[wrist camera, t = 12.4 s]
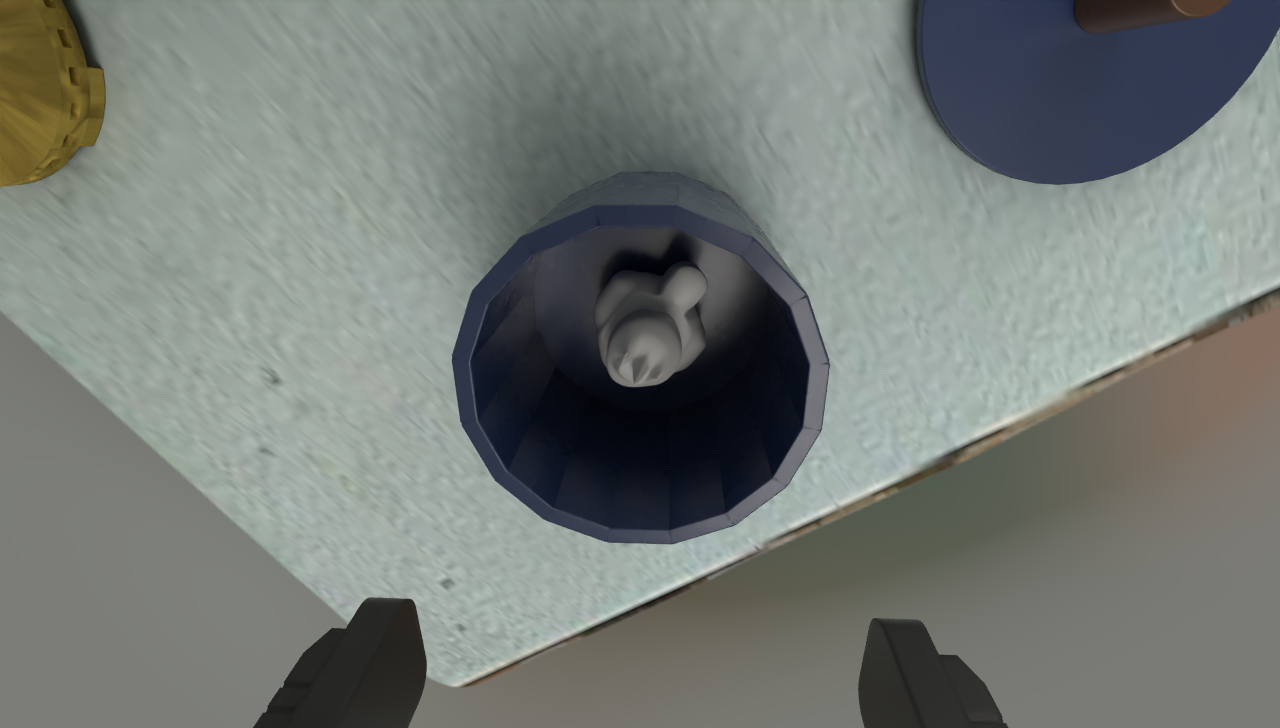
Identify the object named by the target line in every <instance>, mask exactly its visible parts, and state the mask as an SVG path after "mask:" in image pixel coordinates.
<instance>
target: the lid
mask: <svg viewBox="0 0 1280 728" xmlns="http://www.w3.org/2000/svg"><path fill="white" fill-rule="evenodd" d="M1279 28H1280V0H920V2H919V8H918V19H917V30H916V33H917V58H918V64H919V70H920V77H921V81H922V84H923V87H924V91H925V94H926V97H927V100H928V102H929V104H930V107H931V109H932V111H933V113H934V115H935V117H936V119H937V121H938V122H939V124H940V125H941V127H942V128H943V130H944V131H945V133H946V134H947V135H948V136H949V138H950V139H951V140H952V141H953V142H954V143H955V144H956V145H957V146H958V147H959V148H960V150H962V151H963V152H964V153H966V154H967V155H968V156H969V157H971V158H972V159H973V160H974V161H976V162H977V163H979V164H981V165H983V166H985V167H986V168H988V169H990V170H992V171H994V172H997V173H999V174H1002V175H1005V176H1007V177H1010V178H1014V179H1019V180H1023V181H1028V182H1033V183H1040V184H1055V185H1060V184H1076V183H1084V182H1089V181H1094V180H1099V179H1104V178H1107V177H1110V176H1113V175H1116V174H1120V173H1123V172H1126V171H1128V170H1130V169H1133V168H1135V167H1137V166H1140V165H1142V164H1144V163H1146V162H1149V161H1150V160H1152V159H1154V158H1156V157H1158V156H1159V155H1161V154H1163V153H1165V152H1166V151H1168V150H1170V149H1172V148H1173V147H1174V146H1176V145H1177V144H1179V143H1180V142H1182V141H1183V140H1185V139H1186V138H1187V137H1189V136H1190V135H1192V134H1193V133H1194V132H1195V131H1197V130H1198V129H1199V128H1200V127H1201V126H1203V125H1204V124H1205V123H1206V122H1207V121H1208V120H1210V119H1211V118H1212V117H1213V116H1214V115H1215V114H1216V113H1217V112H1218V111H1219V110H1220V109H1221V108H1222V107H1223V106H1224V105H1225V104H1226V103H1227V102H1228V101H1229V100H1230V99H1231V98H1232V97H1233V96H1234V95H1235V93H1236V92H1237V91H1238V90H1239V88H1240V87H1241V86H1242V85H1243V84H1244V82H1245V81H1246V80H1247V79H1248V77H1249V76H1250V75H1251V74H1252V72H1253V71H1254V69H1255V68H1256V66H1257V65H1258V63H1259V62H1260V60H1261V59H1262V57H1263V56H1264V54H1265V53H1266V51H1267V50H1268V48H1269V46H1270V44H1271V43H1272V41H1273V39H1274V37H1275V35H1276V33H1277V31H1278V30H1279Z"/></svg>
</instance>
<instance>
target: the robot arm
mask: <svg viewBox="0 0 1280 728" xmlns="http://www.w3.org/2000/svg"><path fill="white" fill-rule="evenodd" d="M426 671H427V661H426V655H425V650H424V645H423V640H422V635H421V630H420V625H419V620H418V615H417V610H416V606H415V603H414V601H413V600H412V599H398V598H371V597H370V598H367V599H366V600H365V601H364V602H363V603H362V604H361V605H360V607H359V608H358V610H357V612H356V613H355V615H354V616H353V618H352V620H351V621H350V623H349V624H348V626H347V628H346V629H340V628H332V629H331V630H329V631H328V632H327V633H326V634H325V635H324V636H322V637H321V638H320V639H319V640H318V641H317V642H315V643H314V644H313V645H312V646H311V647H310V648H309V649H307V650H306V651H305V652H304V653H303V655H302V656H301V657H300V659H299V660H298V662H297V663H296V665H295V666H294V668H293V669H292V671H291V672H290V674H289V675H288V677H287V678H286V680H285V681H284V686H283V688H280V689H279V690H278V692H277V693H276V694H275V696H274V697H273V699H272V700H271V702H270V703H269V705H268V709H267V712H266V713H263V714H262V715H261V717H260V718H259V720H258V721H257V723H256V724H255V726H254V727H253V728H408V726H409V724H410V721H411V719H412V717H413V715H414V712H415V710H416V708H417V705H418V703H419V701H420V698H421V695H422V692H423V689H424V684H425V679H426ZM858 690H859V704H860V710H861V716H862V720H863V723H864V727H865V728H1008V726H1007V724H1006V723H1003V720H1002V715H1001V713H1000V711H999V709H998V707H997V706H996V704H995V702H994V700H993V698H992V696H991V694H990V692H989V691H988V689H987V687H986V685H985V683H984V682H983V681H982V680H981V679H980V678H979V677H978V676H977V675H976V674H975V673H974V672H973V671H972V670H971V669H970V668H969V667H968V666H967V665H966V664H965V663H964V662H963V661H962V660H961V659H960V658H959V657H958V656H957V655H939V654H938V652H937V650H936V648H935V646H934V644H933V642H932V640H931V637H930V635H929V633H928V631H927V629H926V627H925V626H924V624H923V623H922V622H921V621H919V620H910V619H883V618H882V619H881V618H874V619H872V621H871V623H870V626H869V631H868V636H867V641H866V646H865V651H864V657H863V662H862V667H861V672H860V677H859V688H858Z"/></svg>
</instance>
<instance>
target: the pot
mask: <svg viewBox="0 0 1280 728" xmlns="http://www.w3.org/2000/svg"><path fill="white" fill-rule="evenodd" d="M682 261H690V262H693V263H695V264H696V265H697V266H698V267H699V269H700V270H701V271H702V272H703V273H704V275H705V276H706V279H707V282H708V289H707V292H706V293H705V294H704V296H703V297H702V298H701V299H700V300H699V301H698V302H697V303H696V304H695V307H696V309H697V310H698V312H699V315H700V319H701V322H702V324H703V327H704V329H705V334H706V346H705V348H704V350H703V351H702V352H701V353H700V354H699V355H698V357H697V358H696V359H695V360H694V361H693V362H692V363H691V364H690V365H689V366H688V367H687V368H685V369H683V370H681V371H678V372H675V373H673V374H672V375H671V376H670V377H669V378H668V379H667V380H665V381H664V382H662V383H660V384H657V385H651V386H643V387H627V386H623V385H621V384H619V383H617V382H615V381H614V380H613V379H612V378H611V376H610V375H609V372H608V370H607V367H606V366H605V365H604V363H603V361H602V359H601V355H600V350H599V346H598V340H597V327H596V324H595V320H594V309H595V303H596V300H597V297H598V295H599V294H600V292H601V291H602V290H603V289H604V287H605V286H606V285H607V283H608V282H609V281H610V280H611V278H612V277H613V276H614V275H615V274H616V273H618V272H620V271H623V270H631V271H635V272H640V273H642V272H648V273H652V274H656V275H660V276H663V275H664V274H665V272H666V271H667V270H668V268H670V267H671V266H672V265H673V264H675V263H678V262H682ZM452 365H453V372H454V379H455V386H456V393H457V400H458V407H459V415H460V421H461V423H462V427H463V428H464V430H465V432H466V433H467V435H468V437H469V438H470V440H471V442H472V443H473V445H474V447H475V448H476V450H477V452H478V453H479V455H480V457H481V458H482V460H483V462H484V463H485V465H486V467H487V468H488V470H489V472H490V473H491V475H492V477H493V478H494V479H495V481H496V482H498V483H499V484H500V485H501V486H503V487H504V488H505V489H506V490H508V491H509V492H510V493H511V494H513V495H514V496H515V497H516V498H518V499H519V500H520V501H521V502H523V503H524V504H525V505H526V506H528V507H529V508H530V509H531V510H533V511H534V512H535V513H536V514H538V515H539V516H540V517H541V518H543V519H544V520H545V519H546V521H549V522H552V523H554V524H557V525H560V526H563V527H565V528H568V529H571V530H574V531H577V532H579V533H582V534H585V535H588V536H591V537H593V538H596V539H599V540H602V541H605V542H606V541H607V542H610V543H646V544H675V543H678V542H682V541H685V540H688V539H692V538H695V537H698V536H702V535H705V534H708V533H711V532H715V531H718V530H721V529H725V528H728V527H731V526H734V525H736V524H737V523H739V522H740V521H742V520H743V519H744V518H746V517H747V516H748V515H750V514H751V513H752V512H754V511H755V510H756V509H758V508H759V507H760V506H762V505H763V504H764V503H766V502H767V501H768V500H770V499H771V498H772V497H774V496H775V495H777V494H778V493H779V492H781V491H782V490H783V489H785V488H786V487H787V486H788V485H789V483H790V481H791V480H792V478H793V476H794V475H795V473H796V471H797V470H798V468H799V467H800V465H801V463H802V462H803V460H804V458H805V457H806V455H807V453H808V452H809V450H810V448H811V447H812V445H813V444H814V442H815V440H816V439H817V437H818V435H819V434H820V432H821V430H822V424H823V416H824V408H825V400H826V392H827V384H828V376H829V368H830V363H829V358H828V355H827V352H826V349H825V346H824V343H823V340H822V337H821V334H820V331H819V328H818V324H817V321H816V318H815V315H814V312H813V309H812V306H811V303H810V300H809V297H808V295H807V293H806V292H805V290H804V289H803V287H802V286H801V285H800V283H799V282H798V280H797V279H796V278H795V276H794V275H793V273H792V272H791V271H790V269H789V268H788V266H787V265H786V263H785V262H784V261H783V259H782V258H781V256H780V255H779V254H778V252H777V251H776V249H775V248H774V247H773V245H772V244H771V242H770V241H769V240H768V238H767V237H766V235H765V234H764V233H763V232H762V231H761V230H760V228H759V227H758V226H757V225H756V224H755V223H754V222H753V221H752V220H751V219H750V218H749V217H748V215H747V214H746V213H745V212H744V211H743V210H742V209H741V208H740V207H739V206H738V205H737V204H736V203H735V202H734V200H733V199H732V198H731V197H730V196H729V195H727V194H725V193H723V192H721V191H719V190H716V189H714V188H712V187H710V186H708V185H706V184H704V183H702V182H700V181H697V180H694V179H691V178H688V177H686V176H684V175H681V174H679V173H676V172H650V171H648V172H634V173H618V174H616V175H614V176H611V177H609V178H607V179H605V180H602V181H599V182H596V183H594V184H592V185H591V186H589V187H586V188H584V189H582V190H580V191H577V192H575V193H573V194H571V195H569V196H568V197H567V198H566V199H565V200H563V201H562V202H561V203H560V204H559V205H558V206H556V207H555V208H554V209H553V210H552V211H551V212H549V213H548V214H547V215H546V216H545V217H544V218H542V219H541V220H540V221H539V222H538V223H537V224H535V225H534V226H533V227H532V228H531V229H530V230H528V231H527V232H526V233H525V234H524V235H523V236H521V237H520V238H519V239H518V240H517V241H516V243H515V244H514V245H513V246H512V247H511V248H510V249H509V250H508V251H507V253H506V254H505V255H504V256H503V257H502V258H501V259H500V260H499V261H498V262H497V264H496V265H495V266H494V267H493V268H492V269H491V270H490V271H489V272H488V274H487V275H486V276H485V277H484V278H483V279H482V280H481V281H480V282H479V284H478V285H477V286H476V287H475V288H474V289H473V290H472V293H471V294H470V298H469V301H468V304H467V308H466V311H465V314H464V318H463V321H462V324H461V328H460V331H459V334H458V338H457V341H456V344H455V347H454V351H453V354H452Z"/></svg>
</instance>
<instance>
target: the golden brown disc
mask: <svg viewBox="0 0 1280 728" xmlns="http://www.w3.org/2000/svg"><path fill="white" fill-rule="evenodd" d="M104 107H105V84H104V77H103V69H99V68H93V67H87V64H86V60H85V55H84V51H83V48H82V45H81V42H80V39H79V37H78V34H77V31H76V29H75V26H74V24H73V22H72V20H71V18H70V15H69V13H68V11H67V9H66V7H65V6H64V4H63V2H62V0H0V187H4V186H12V185H21V184H28V183H31V182H35V181H39V180H42V179H44V178H46V177H48V176H50V175H52V174H54V173H55V172H56V171H58V170H59V169H61V168H62V167H63V166H64V165H65V164H66V163H67V162H68V161H69V160H70V159H71V158H72V156H73V155H74V153H75V152H76V150H77V149H78V147H80V146H94V143H95V141H96V139H97V137H98V135H99V132H100V128H101V125H102V121H103V115H104Z"/></svg>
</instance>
